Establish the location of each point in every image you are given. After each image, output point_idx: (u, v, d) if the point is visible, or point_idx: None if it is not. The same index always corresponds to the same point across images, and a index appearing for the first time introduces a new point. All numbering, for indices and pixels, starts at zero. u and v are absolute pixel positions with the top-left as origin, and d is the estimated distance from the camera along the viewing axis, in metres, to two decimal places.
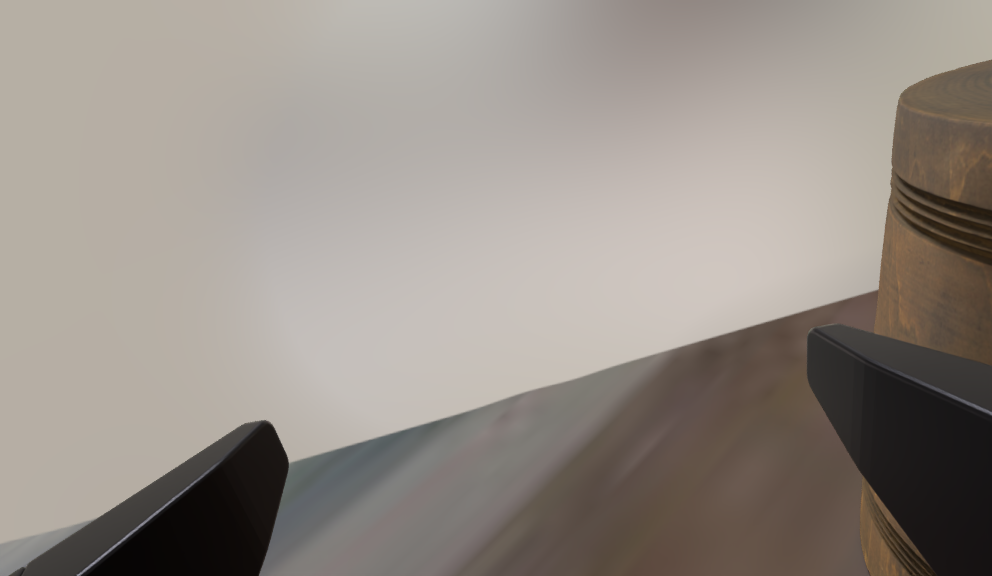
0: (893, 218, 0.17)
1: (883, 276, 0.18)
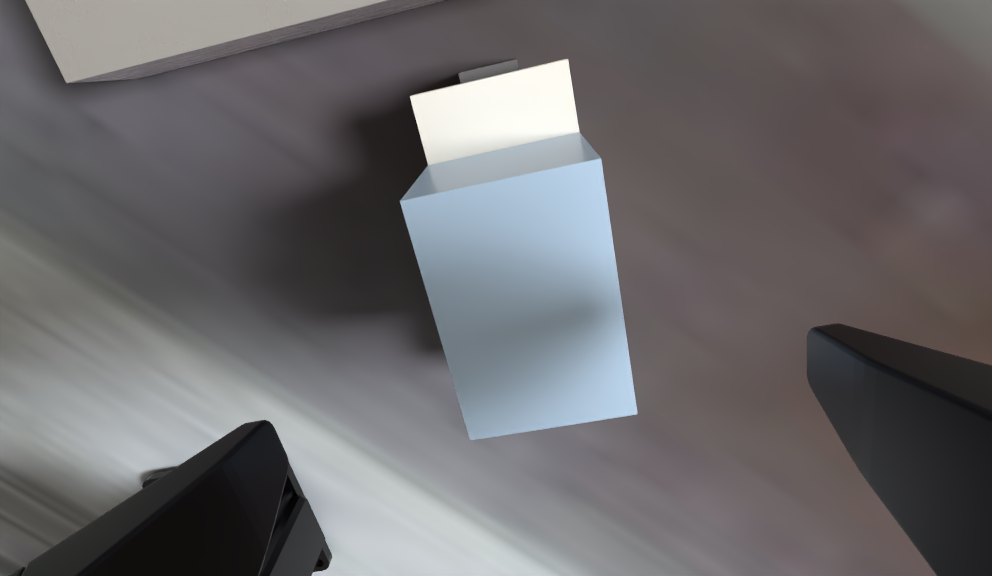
0: None
1: None
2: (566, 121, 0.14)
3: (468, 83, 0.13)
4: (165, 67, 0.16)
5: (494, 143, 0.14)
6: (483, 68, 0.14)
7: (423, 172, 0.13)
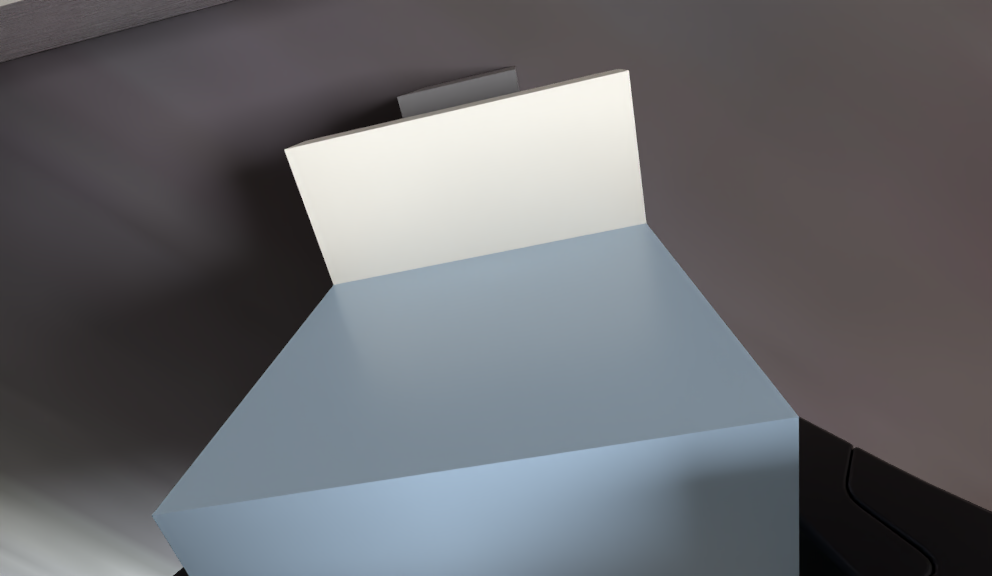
0: None
1: None
2: (620, 202, 0.06)
3: (409, 122, 0.06)
4: None
5: (468, 244, 0.07)
6: (447, 87, 0.07)
7: (309, 318, 0.06)
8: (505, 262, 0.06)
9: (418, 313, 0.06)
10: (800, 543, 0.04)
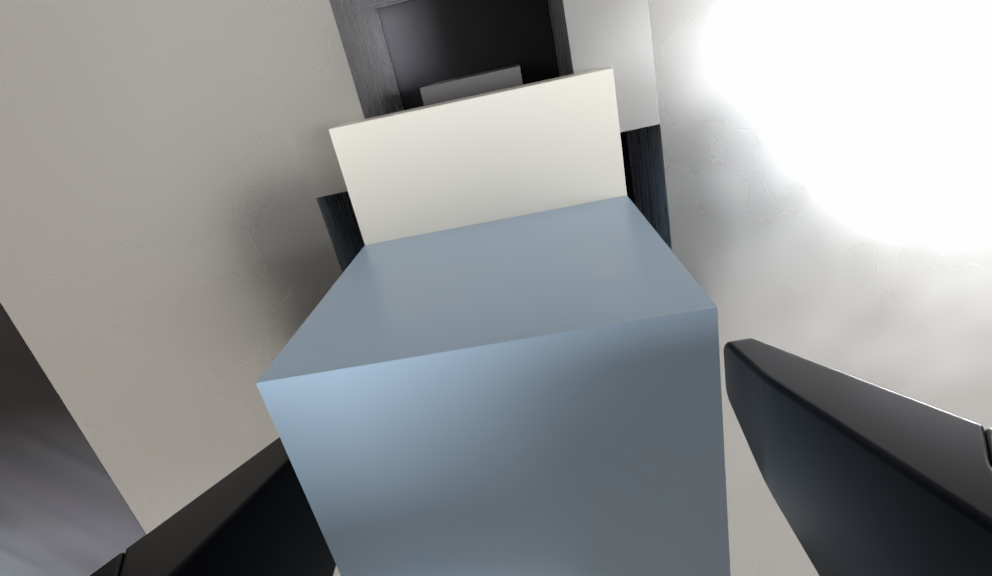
0: None
1: None
2: (605, 177, 0.08)
3: (433, 108, 0.08)
4: None
5: (478, 211, 0.08)
6: (462, 80, 0.08)
7: (349, 267, 0.07)
8: (510, 225, 0.08)
9: (440, 261, 0.07)
10: (954, 524, 0.04)
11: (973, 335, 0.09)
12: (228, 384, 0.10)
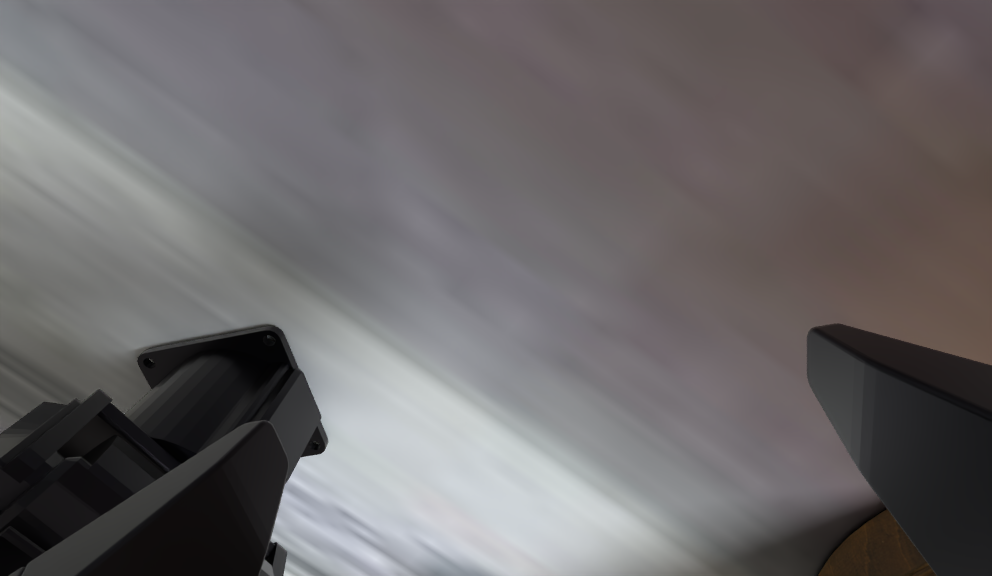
0: None
1: None
2: None
3: None
4: None
5: None
6: None
7: None
8: None
9: None
10: None
11: None
12: None
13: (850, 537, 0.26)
